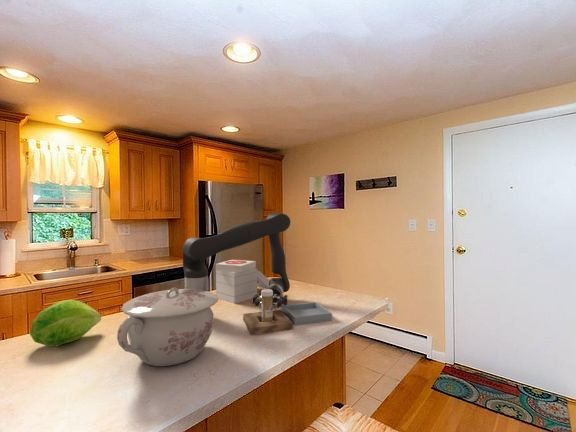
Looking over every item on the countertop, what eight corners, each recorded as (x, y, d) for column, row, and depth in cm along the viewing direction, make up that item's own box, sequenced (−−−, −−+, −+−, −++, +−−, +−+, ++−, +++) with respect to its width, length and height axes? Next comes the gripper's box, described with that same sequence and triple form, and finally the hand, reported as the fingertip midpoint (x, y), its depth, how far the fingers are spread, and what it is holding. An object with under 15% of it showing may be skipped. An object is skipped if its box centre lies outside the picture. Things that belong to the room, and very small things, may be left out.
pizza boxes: (277, 292, 163) (277, 259, 163) (233, 305, 140) (233, 267, 140) (253, 286, 176) (253, 256, 175) (209, 297, 153) (209, 262, 153)
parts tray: (294, 325, 116) (294, 317, 116) (282, 312, 131) (282, 305, 131) (331, 320, 121) (331, 313, 121) (315, 308, 136) (315, 301, 136)
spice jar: (270, 327, 114) (270, 292, 113) (259, 326, 115) (259, 291, 115) (274, 323, 118) (274, 289, 118) (263, 321, 119) (263, 288, 119)
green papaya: (110, 336, 105) (110, 298, 105) (37, 359, 89) (37, 313, 89) (92, 326, 114) (92, 291, 114) (23, 345, 98) (23, 304, 98)
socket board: (250, 335, 106) (250, 328, 106) (243, 319, 122) (243, 313, 122) (293, 329, 111) (293, 323, 111) (280, 315, 127) (280, 309, 127)
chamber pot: (208, 331, 110) (207, 275, 110) (228, 364, 86) (228, 293, 85) (121, 346, 97) (120, 283, 97) (116, 391, 73) (116, 307, 73)
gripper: (258, 284, 134) (249, 294, 118) (289, 285, 132) (285, 295, 116) (258, 301, 134) (249, 313, 118) (289, 302, 132) (285, 315, 116)
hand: (267, 304), depth 117 cm, fingers open, 8 cm apart
